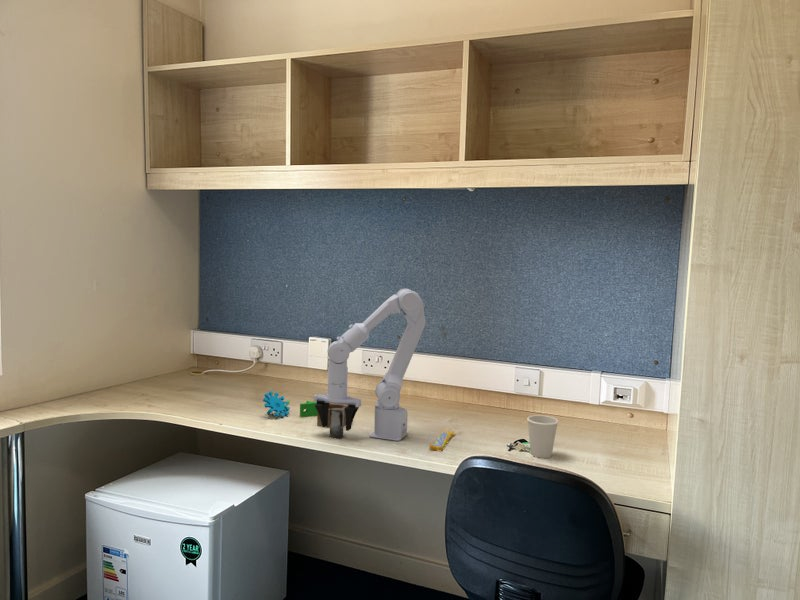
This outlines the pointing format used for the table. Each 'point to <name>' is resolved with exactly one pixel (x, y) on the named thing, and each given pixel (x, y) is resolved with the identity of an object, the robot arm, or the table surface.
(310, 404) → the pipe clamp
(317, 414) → the socket
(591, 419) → the table surface
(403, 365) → the robot arm
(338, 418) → the peg
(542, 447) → the dixie cup
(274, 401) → the gear
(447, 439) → the candy bar
